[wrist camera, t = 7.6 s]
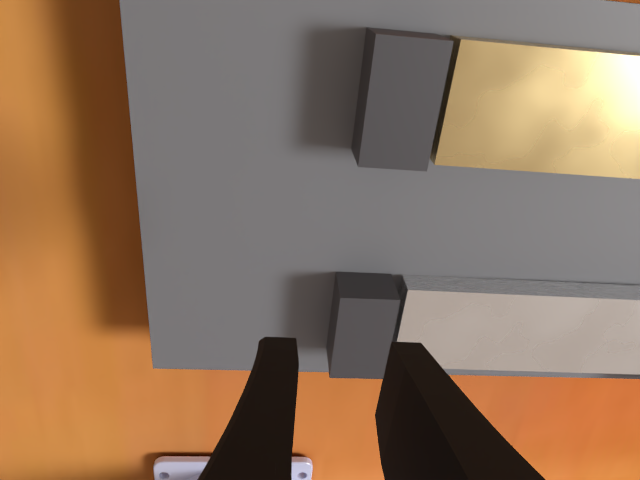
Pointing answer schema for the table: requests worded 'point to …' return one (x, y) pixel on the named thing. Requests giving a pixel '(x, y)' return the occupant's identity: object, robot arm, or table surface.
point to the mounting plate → (341, 174)
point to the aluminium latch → (522, 324)
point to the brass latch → (540, 109)
